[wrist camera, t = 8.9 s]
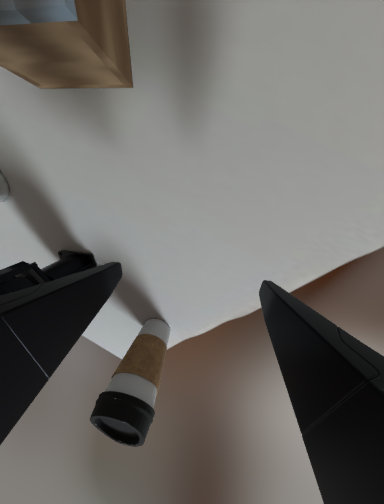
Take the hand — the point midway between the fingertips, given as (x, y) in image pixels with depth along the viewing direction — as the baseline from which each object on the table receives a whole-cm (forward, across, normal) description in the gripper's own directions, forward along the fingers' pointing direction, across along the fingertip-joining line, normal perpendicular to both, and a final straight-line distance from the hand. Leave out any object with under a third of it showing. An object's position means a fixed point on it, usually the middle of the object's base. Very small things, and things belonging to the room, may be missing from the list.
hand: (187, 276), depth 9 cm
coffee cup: (+13, +8, +24) cm, 28 cm away
